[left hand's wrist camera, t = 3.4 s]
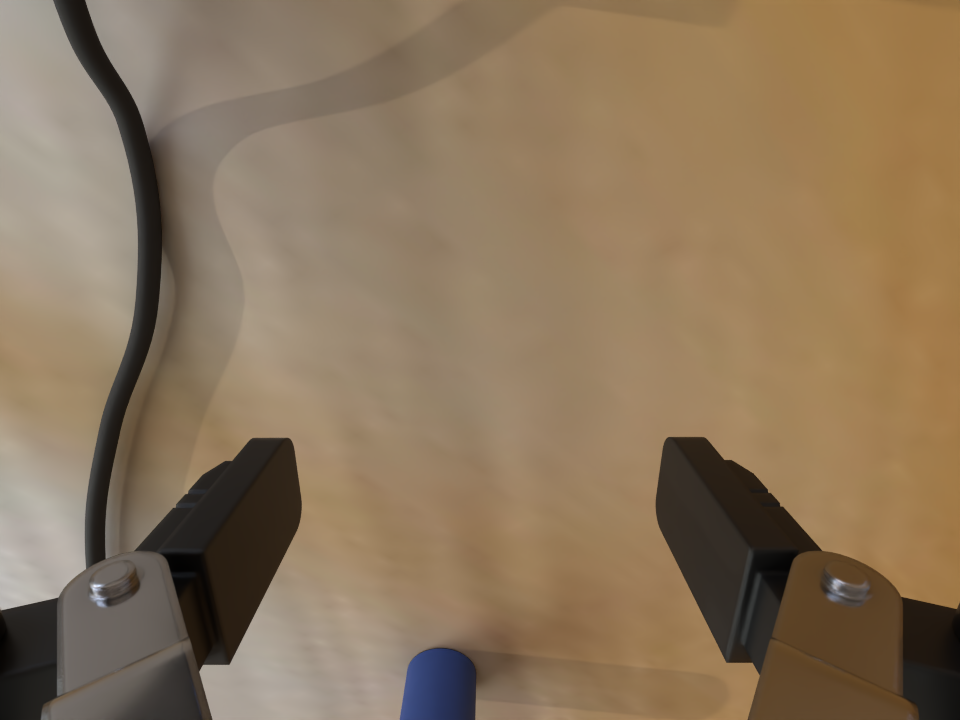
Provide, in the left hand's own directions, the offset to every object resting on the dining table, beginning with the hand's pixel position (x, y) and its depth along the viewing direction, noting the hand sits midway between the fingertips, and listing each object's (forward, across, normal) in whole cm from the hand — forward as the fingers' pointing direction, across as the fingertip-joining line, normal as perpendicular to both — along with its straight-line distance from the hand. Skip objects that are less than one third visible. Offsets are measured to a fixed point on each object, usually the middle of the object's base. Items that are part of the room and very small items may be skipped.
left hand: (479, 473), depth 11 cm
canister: (+13, -2, -22) cm, 26 cm away
